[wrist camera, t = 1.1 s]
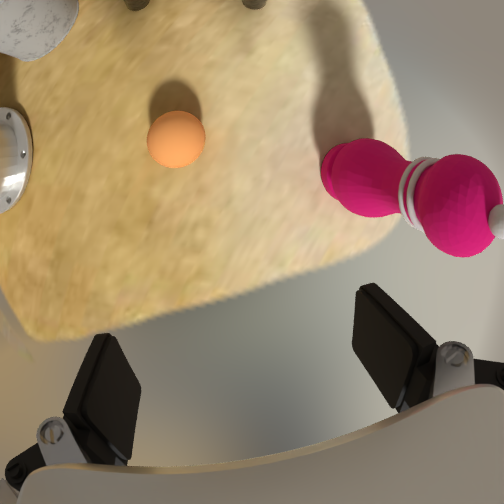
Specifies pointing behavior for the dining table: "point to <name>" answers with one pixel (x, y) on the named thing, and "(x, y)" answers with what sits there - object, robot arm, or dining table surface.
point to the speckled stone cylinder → (34, 26)
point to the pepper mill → (419, 193)
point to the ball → (176, 139)
